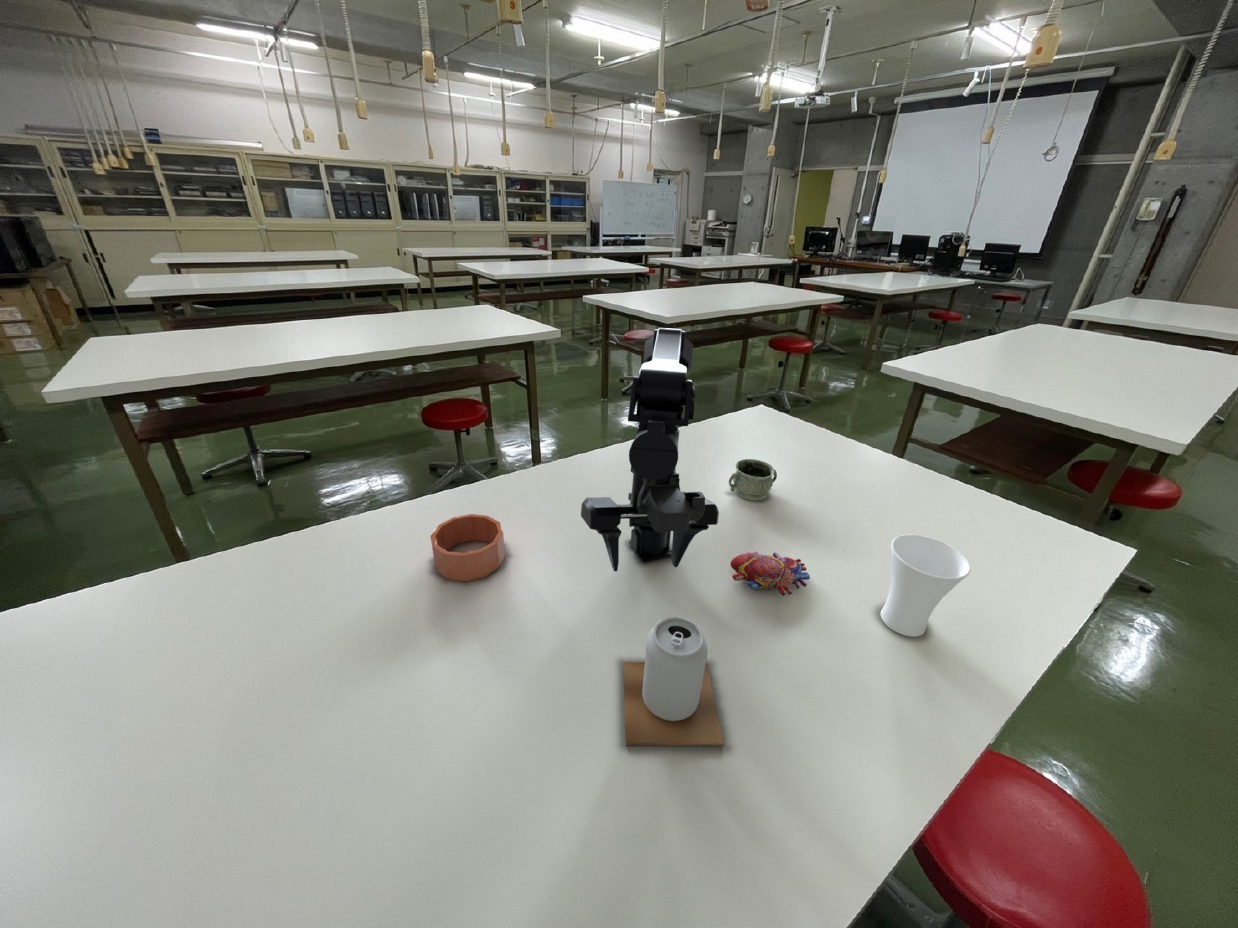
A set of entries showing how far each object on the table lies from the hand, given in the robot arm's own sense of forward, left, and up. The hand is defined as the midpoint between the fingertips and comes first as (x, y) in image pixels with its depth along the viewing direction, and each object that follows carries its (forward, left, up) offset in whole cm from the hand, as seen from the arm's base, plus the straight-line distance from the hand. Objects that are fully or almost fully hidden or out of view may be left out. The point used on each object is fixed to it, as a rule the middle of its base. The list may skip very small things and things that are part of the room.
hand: (645, 568), depth 71 cm
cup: (-40, +14, -12) cm, 44 cm away
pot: (+22, -26, -12) cm, 36 cm away
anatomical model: (-26, -2, -12) cm, 29 cm away
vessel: (-41, -28, -12) cm, 51 cm away
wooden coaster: (+2, +13, -12) cm, 18 cm away
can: (+2, +13, -12) cm, 17 cm away
